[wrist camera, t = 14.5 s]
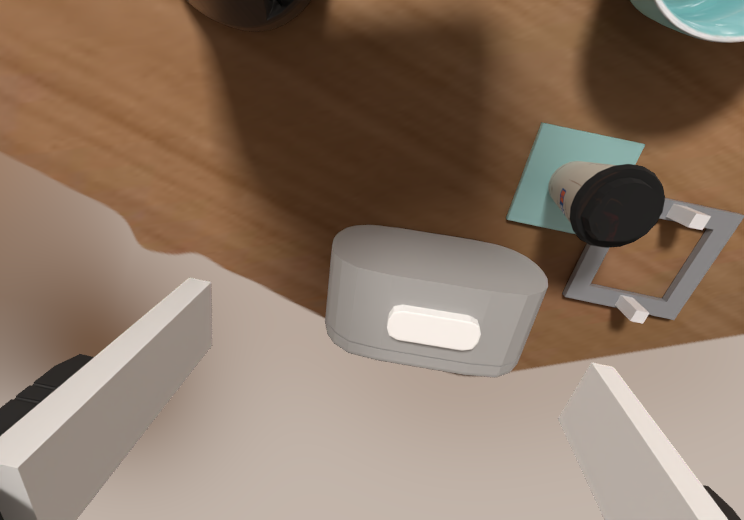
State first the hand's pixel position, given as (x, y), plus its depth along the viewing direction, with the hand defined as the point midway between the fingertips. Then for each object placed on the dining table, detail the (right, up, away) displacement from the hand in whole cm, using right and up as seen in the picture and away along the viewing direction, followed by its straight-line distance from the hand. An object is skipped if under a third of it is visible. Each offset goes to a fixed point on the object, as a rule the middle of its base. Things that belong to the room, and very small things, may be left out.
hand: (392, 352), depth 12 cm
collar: (+29, +4, +27) cm, 40 cm away
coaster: (+20, +11, +25) cm, 33 cm away
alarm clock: (+6, +2, +30) cm, 31 cm away
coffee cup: (+20, +11, +24) cm, 33 cm away
